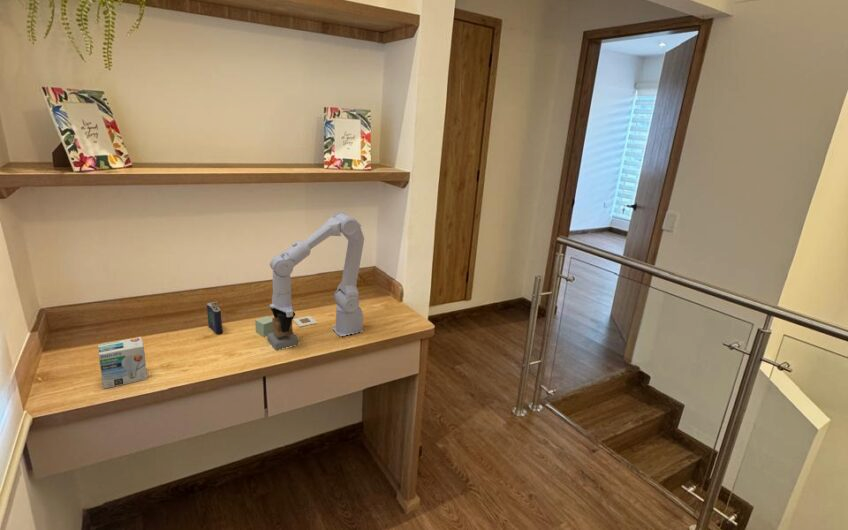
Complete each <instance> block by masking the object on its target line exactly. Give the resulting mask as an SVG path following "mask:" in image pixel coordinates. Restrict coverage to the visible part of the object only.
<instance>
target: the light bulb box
mask: <svg viewBox="0 0 848 530" xmlns="http://www.w3.org/2000/svg"><path fill="white" fill-rule="evenodd" d="M97 346H98V361H99V368H100V374H101V380H102V385H103V387H102V388H103V389H104V390H105V389H109V388H113V387H119V386H123V385H124V386H125V385H127V384H131V383H136V382H137V383H138V382H141V381H146V380H148V375H147V364H146V354H145V353H146V352H145V346H144V342H143V338H142V337H141V336H138V337H133V338H127V339H122V340H117V341H112V342H105V343H101V344H98V345H97Z"/></svg>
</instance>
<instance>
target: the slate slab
mask: <svg viewBox="0 0 848 530" xmlns="http://www.w3.org/2000/svg"><path fill="white" fill-rule="evenodd" d="M266 337H267V338H266V339H267V342H268V343H269V345H270V346H271V345H272V346H271V347H272V349H274V351H275V350H277V351H280V350H279V349H281V350H283V349H282V348H285V349H287V348H286V347H289V348H291V347H290V346H293V347H295V346H294V345H297V346H299V345H298V344H300V343H299V337H298V335H296V334H295V333H294V332H293V331H292V334H291V335H287V336H282V337H277V336H276V335H275V333H274V332H273V333H269V334H267V336H266Z"/></svg>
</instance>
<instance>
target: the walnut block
mask: <svg viewBox="0 0 848 530" xmlns="http://www.w3.org/2000/svg"><path fill="white" fill-rule="evenodd" d="M271 318H272V317H271ZM272 322H273V332H274V333H275V335H276V336H277V337H282V336H287V335H291V334H292V332H293V321H292V322H291V325H290V329H289V331H288V332H282V329H281V323H280V320H279V318H278V317H276V318H274V317H273V318H272Z"/></svg>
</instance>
